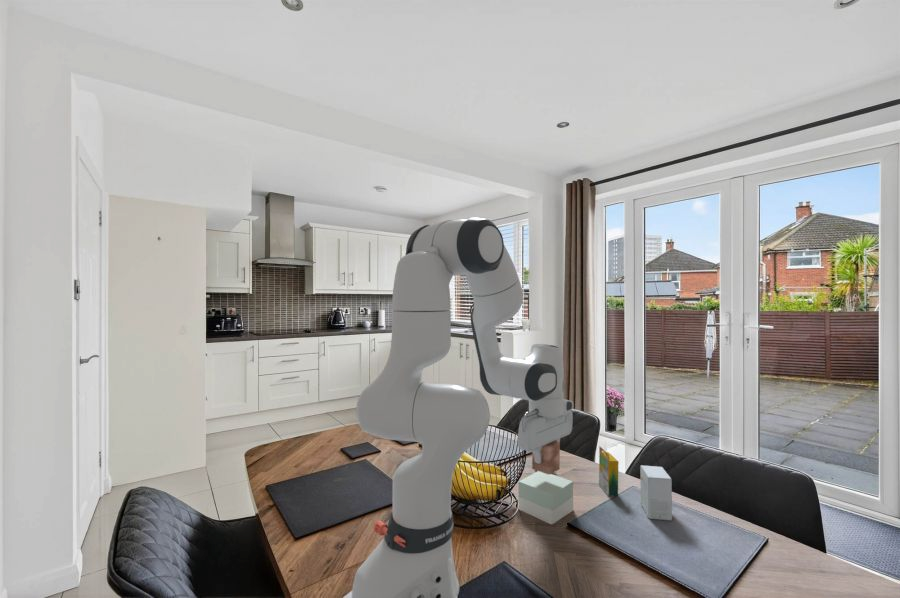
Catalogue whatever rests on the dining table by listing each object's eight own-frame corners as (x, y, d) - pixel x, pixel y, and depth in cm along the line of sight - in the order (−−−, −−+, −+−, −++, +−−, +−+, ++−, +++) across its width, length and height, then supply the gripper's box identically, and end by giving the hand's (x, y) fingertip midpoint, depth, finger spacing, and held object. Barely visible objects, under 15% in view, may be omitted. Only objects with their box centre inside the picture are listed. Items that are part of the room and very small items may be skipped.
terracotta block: (548, 474, 105) (549, 447, 104) (532, 468, 108) (532, 441, 108) (559, 469, 108) (559, 442, 108) (543, 463, 112) (543, 437, 112)
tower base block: (551, 526, 101) (551, 509, 101) (518, 510, 109) (518, 495, 109) (573, 511, 108) (573, 496, 108) (540, 498, 116) (540, 484, 116)
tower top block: (552, 510, 101) (552, 494, 101) (518, 496, 108) (518, 481, 108) (572, 496, 108) (572, 481, 108) (539, 484, 115) (539, 470, 115)
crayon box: (618, 496, 116) (619, 454, 116) (608, 496, 116) (608, 454, 116) (608, 484, 123) (608, 445, 123) (598, 484, 123) (598, 445, 123)
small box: (672, 521, 103) (672, 479, 103) (647, 519, 104) (648, 477, 104) (662, 505, 111) (662, 466, 111) (640, 503, 112) (640, 464, 112)
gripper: (532, 416, 98) (532, 474, 99) (576, 401, 113) (576, 452, 113) (511, 411, 103) (511, 466, 103) (556, 397, 117) (556, 446, 117)
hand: (545, 458), depth 108 cm, fingers closed on terracotta block, 5 cm apart
